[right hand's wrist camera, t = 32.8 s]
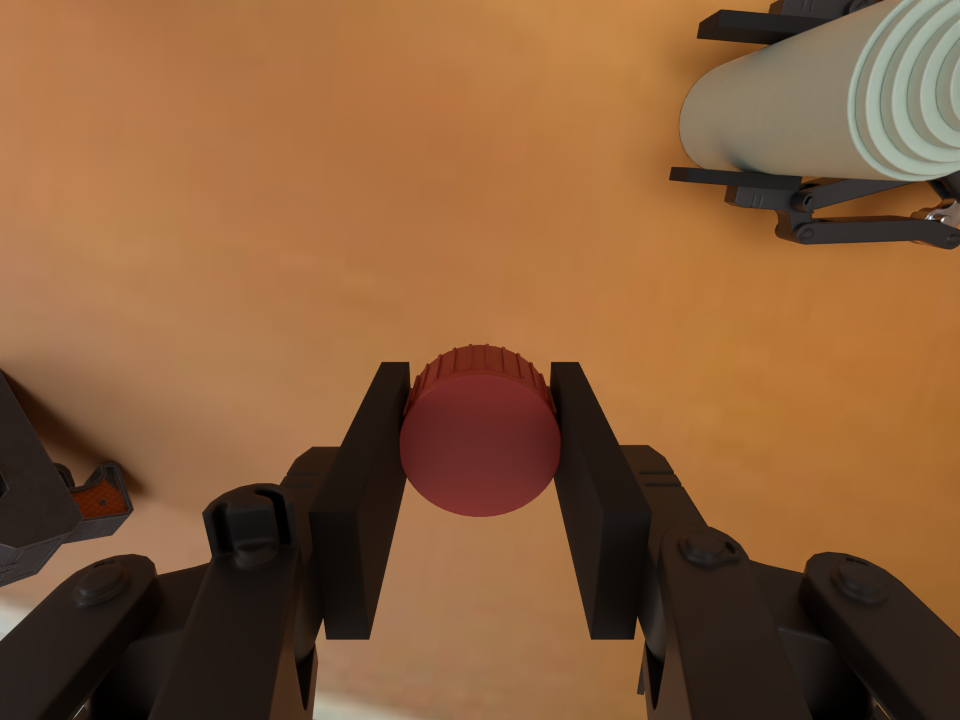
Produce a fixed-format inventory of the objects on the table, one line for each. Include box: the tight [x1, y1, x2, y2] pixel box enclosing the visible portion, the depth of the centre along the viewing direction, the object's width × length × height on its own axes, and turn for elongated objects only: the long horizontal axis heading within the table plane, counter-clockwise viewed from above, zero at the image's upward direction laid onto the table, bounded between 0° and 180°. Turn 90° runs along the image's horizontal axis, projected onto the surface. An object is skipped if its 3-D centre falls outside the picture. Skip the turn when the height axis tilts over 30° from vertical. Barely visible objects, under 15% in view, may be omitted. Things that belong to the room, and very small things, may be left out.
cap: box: [399, 344, 561, 517], centre depth 14 cm, size 4×4×2 cm
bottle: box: [679, 0, 960, 181], centre depth 24 cm, size 7×7×23 cm
